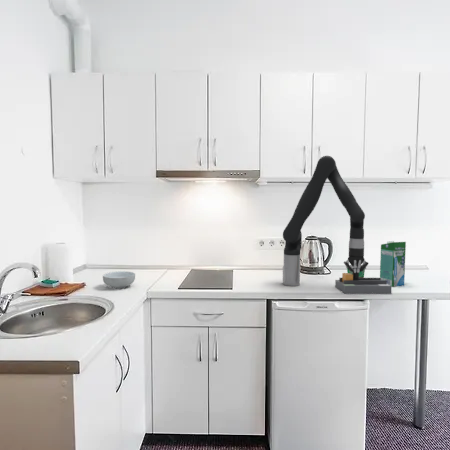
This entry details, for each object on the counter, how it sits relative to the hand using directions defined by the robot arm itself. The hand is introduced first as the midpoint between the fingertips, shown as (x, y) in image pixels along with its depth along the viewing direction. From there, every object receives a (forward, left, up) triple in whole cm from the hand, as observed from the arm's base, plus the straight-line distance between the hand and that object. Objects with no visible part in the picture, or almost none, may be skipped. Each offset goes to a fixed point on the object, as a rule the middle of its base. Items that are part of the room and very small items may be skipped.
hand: (355, 279), depth 175 cm
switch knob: (-4, 0, -1) cm, 5 cm away
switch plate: (+4, 0, -6) cm, 7 cm away
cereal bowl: (-127, +6, -6) cm, 128 cm away
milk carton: (+27, +14, -6) cm, 31 cm away
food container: (+10, +20, -6) cm, 23 cm away
